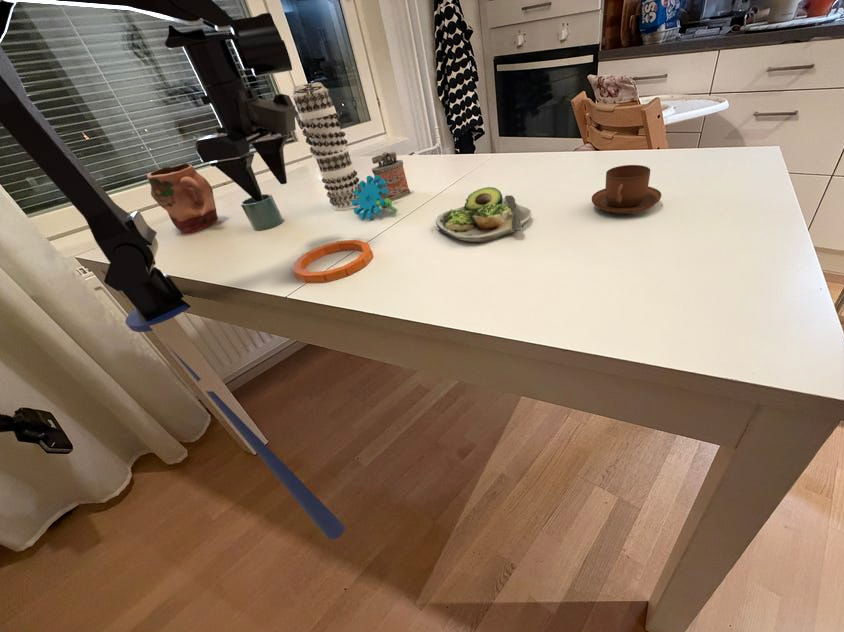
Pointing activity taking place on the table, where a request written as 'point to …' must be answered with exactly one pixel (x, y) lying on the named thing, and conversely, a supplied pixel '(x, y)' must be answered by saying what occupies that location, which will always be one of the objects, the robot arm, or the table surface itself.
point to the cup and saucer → (626, 190)
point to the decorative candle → (327, 143)
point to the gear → (371, 197)
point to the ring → (336, 272)
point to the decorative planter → (184, 196)
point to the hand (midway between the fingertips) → (272, 192)
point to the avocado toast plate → (484, 217)
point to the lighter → (391, 175)
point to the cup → (262, 212)
